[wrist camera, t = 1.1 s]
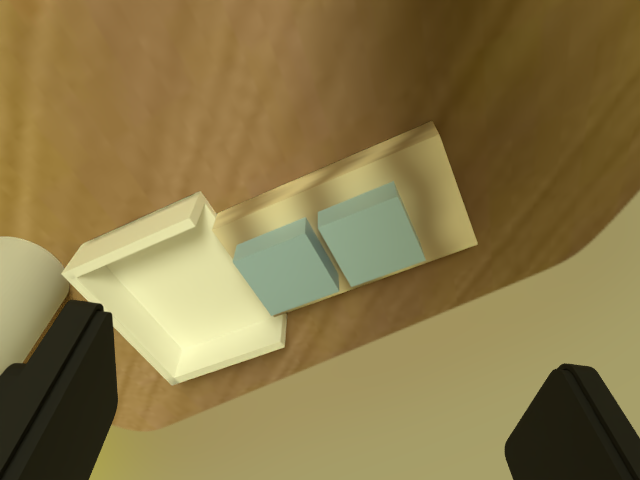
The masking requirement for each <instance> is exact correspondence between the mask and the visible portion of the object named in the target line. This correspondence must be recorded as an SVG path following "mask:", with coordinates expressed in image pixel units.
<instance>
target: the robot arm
mask: <svg viewBox="0 0 640 480" xmlns="http://www.w3.org/2000/svg"><path fill="white" fill-rule="evenodd" d="M117 403H118V394H117V379H116V363H115V348H114V333H113V317H112V313H111V312H105V311H104V308H103V305H102V304H100V303H93V302H85V301H78V300H70V301H68V303H67V304H66V305H65V306H64V308H63V309H62V311H61V312H60V314H59V315H58V317H57V318H56V320H55V322H54V323H53V325H52V326H51V328H50V329H49V331H48V332H47V334H46V335H45V337H44V338H43V340H42V341H41V343H40V344H39V346H38V347H37V349H36V350H35V352H34V353H33V355H32V356H31V358H30V359H29V361H28V362H27V364H24V363H13V364H11V365H10V366H8V367H7V368H6V369H5V370H4V372H3V373H2V374H1V375H0V480H89V478H90V475H91V473H92V470H93V468H94V465H95V463H96V460H97V458H98V455H99V453H100V451H101V448H102V446H103V443H104V441H105V438H106V436H107V433H108V431H109V428H110V426H111V424H112V421H113V419H114V416H115V413H116V409H117ZM505 457H506V461H507V463H508V466H509V469H510V472H511V474H512V477H513V480H640V438H639V436H638V435H637V434H636V432H635V430H634V429H633V427H632V426H631V424H630V422H629V421H628V419H627V418H626V416H625V414H624V413H623V411H622V410H621V408H620V407H619V405H618V404H617V402H616V400H615V399H614V397H613V396H612V394H611V393H610V391H609V389H608V388H607V386H606V385H605V383H604V382H603V380H602V378H601V377H600V375H599V374H598V372H597V371H596V370H595V369H594V368H592V367H589V366H581V365H574V364H562V365H560V366H559V367H558V368H557V369H555V370H553V371H552V372H551V373H550V375H549V376H548V378H547V379H546V381H545V382H544V384H543V385H542V387H541V388H540V390H539V392H538V393H537V395H536V396H535V398H534V399H533V401H532V402H531V404H530V406H529V407H528V409H527V410H526V412H525V413H524V415H523V416H522V418H521V419H520V421H519V423H518V424H517V426H516V427H515V429H514V430H513V432H512V433H511V435H510V437H509V438H508V440H507V441H506V444H505Z"/></svg>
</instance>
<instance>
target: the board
mask: <svg viewBox="0 0 640 480" xmlns="http://www.w3.org/2000/svg"><path fill="white" fill-rule="evenodd" d="M393 181H394V183H395V185H396V187H397V190H398V192H399V194H400V197H401V199H402V201H403V204H404V206H405V208H406V211H407V213H408V215H409V217H410V220H411V222H412V224H413V227H414V229H415V231H416V234H417V236H418V238H419V241H420V243H421V246H422V249H423V252H424V256H425V259H426V261H423V262H420V263H417V264H414V265H412V266H409V267H406V268H403V269H401V270H398V271H395V272H392V273H389V274H387V275H384V276H381V277H378V278H376V279H373V280H370V281H367V282H364V283H362V284H359V285H356V286H353V287H351V286H350V284H349V282H348V280H347V279H346V277H345V275H344V273H343V272H342V270H341V268H340V266H339V265H338V263H337V261H336V259H335V258H334V256H333V254H332V252H331V251H330V249H329V247H328V245H327V243H326V242H325V240H324V238H323V236H322V235H321V233H320V231H319V229H318V212H319V211H321V210H324V209H326V208H329V207H331V206H334V205H336V204H339V203H341V202H344V201H346V200H348V199H351V198H353V197H356V196H358V195H361V194H363V193H366V192H368V191H371V190H373V189H375V188H378V187H380V186H383V185H385V184H388V183H390V182H393ZM304 217H306V218H307V220H308V222H309V223H310V225H311V227H312V229H313V230H314V232H315V234H316V236H317V237H318V239H319V241H320V242H321V244H322V246H323V248H324V249H325V251H326V253H327V255H328V256H329V258H330V260H331V262H332V263H333V265H334V267H335V269H336V270H337V272H338V274H339V292H337V293H334V294H331V295H328V296H325V297H323V298H320V299H317V300H314V301H312V302H309V303H306V304H303V305H300V306H298V307H295V308H292V309H289V310H287V311H284V312H281V313H278V314H275V315H273V316H274V317H277V316H279V315H282V314H285V313H288V312H291V311H293V310H296V309H299V308H302V307H304V306H307V305H310V304H313V303H316V302H318V301H321V300H324V299H327V298H330V297H332V296H335V295H338V294H341V293H344V292H346V291H349V290H352V289H355V288H358V287H360V286H363V285H366V284H369V283H371V282H374V281H377V280H380V279H383V278H385V277H388V276H391V275H394V274H397V273H399V272H402V271H405V270H408V269H411V268H413V267H416V266H419V265H422V264H425V263H427V262H430V261H433V260H436V259H438V258H441V257H444V256H447V255H450V254H452V253H455V252H458V251H461V250H464V249H466V248H469V247H472V246H475V245H478V243H477V240H476V237H475V234H474V232H473V229H472V226H471V223H470V220H469V217H468V214H467V212H466V209H465V206H464V203H463V200H462V197H461V195H460V192H459V189H458V186H457V183H456V180H455V177H454V175H453V172H452V169H451V166H450V163H449V160H448V158H447V155H446V152H445V149H444V146H443V143H442V140H441V138H440V135H439V133H438V131H437V129H436V127H435V125H434V123H433V122H432V121H430V122H428V123H426V124H423V125H421V126H419V127H416V128H414V129H412V130H410V131H407V132H405V133H403V134H400V135H398V136H396V137H393V138H391V139H389V140H386V141H384V142H382V143H379V144H377V145H375V146H372V147H370V148H368V149H365V150H363V151H361V152H358V153H356V154H354V155H352V156H349V157H347V158H345V159H342V160H340V161H338V162H335V163H333V164H331V165H328V166H326V167H324V168H321V169H319V170H317V171H314V172H312V173H310V174H307V175H305V176H303V177H301V178H298V179H296V180H294V181H291V182H289V183H287V184H284V185H282V186H280V187H277V188H275V189H273V190H270V191H268V192H266V193H263V194H261V195H259V196H256V197H254V198H252V199H249V200H247V201H245V202H243V203H240V204H238V205H236V206H233V207H231V208H229V209H226V210H224V211H222V212H219V213H217V216H216V219H215V222H214V225H213V228H212V231H213V233H214V234H215V235H216V237H217V238H218V240H219V241H220V242H221V244H222V245H223V247H224V248H225V249H226V251H227V252H228V254H229V255H230V256H231V258H232V259H233V258H234V254H235V250H236V246H237V245H238V244H241V243H243V242H245V241H248V240H250V239H253V238H255V237H258V236H260V235H263V234H265V233H268V232H270V231H272V230H275V229H277V228H280V227H282V226H285V225H287V224H290V223H292V222H295V221H297V220H299V219H302V218H304Z"/></svg>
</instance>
